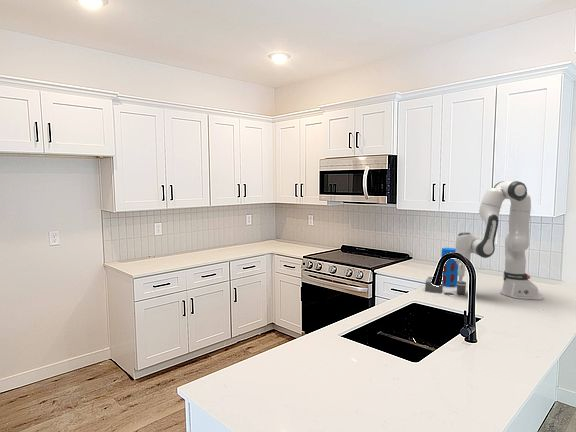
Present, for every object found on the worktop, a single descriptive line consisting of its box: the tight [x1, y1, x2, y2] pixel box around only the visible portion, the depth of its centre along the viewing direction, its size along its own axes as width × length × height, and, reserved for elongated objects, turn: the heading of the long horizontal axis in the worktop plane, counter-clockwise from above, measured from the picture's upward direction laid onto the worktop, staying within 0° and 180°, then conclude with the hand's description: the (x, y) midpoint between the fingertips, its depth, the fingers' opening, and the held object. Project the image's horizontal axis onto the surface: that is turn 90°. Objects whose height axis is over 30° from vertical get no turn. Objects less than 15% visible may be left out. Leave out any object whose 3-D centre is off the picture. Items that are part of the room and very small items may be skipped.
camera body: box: [424, 276, 444, 294], centre depth 253 cm, size 10×9×8 cm
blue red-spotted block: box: [440, 247, 459, 288], centre depth 267 cm, size 11×11×25 cm
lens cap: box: [443, 291, 454, 296], centre depth 245 cm, size 6×6×1 cm
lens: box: [456, 280, 467, 296], centre depth 244 cm, size 5×5×8 cm
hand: (460, 280), depth 244 cm, fingers open, 8 cm apart
